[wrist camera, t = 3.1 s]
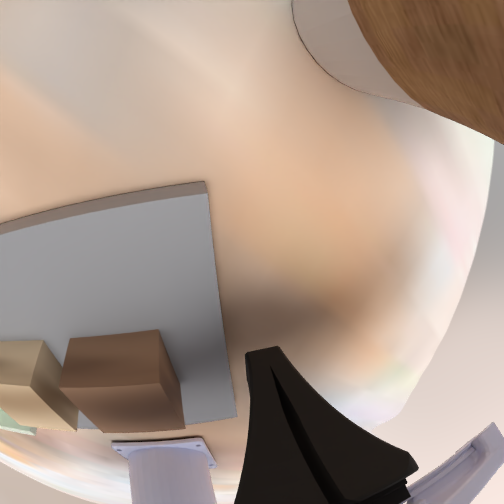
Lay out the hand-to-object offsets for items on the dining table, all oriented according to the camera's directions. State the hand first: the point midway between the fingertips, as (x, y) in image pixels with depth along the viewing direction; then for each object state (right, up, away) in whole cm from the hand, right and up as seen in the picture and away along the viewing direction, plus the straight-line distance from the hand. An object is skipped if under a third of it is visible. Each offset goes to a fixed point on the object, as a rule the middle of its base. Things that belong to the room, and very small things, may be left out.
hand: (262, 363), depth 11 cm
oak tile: (-11, -1, -1) cm, 11 cm away
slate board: (-9, 0, 0) cm, 9 cm away
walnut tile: (-6, 0, 0) cm, 6 cm away
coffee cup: (+4, +13, -4) cm, 14 cm away
